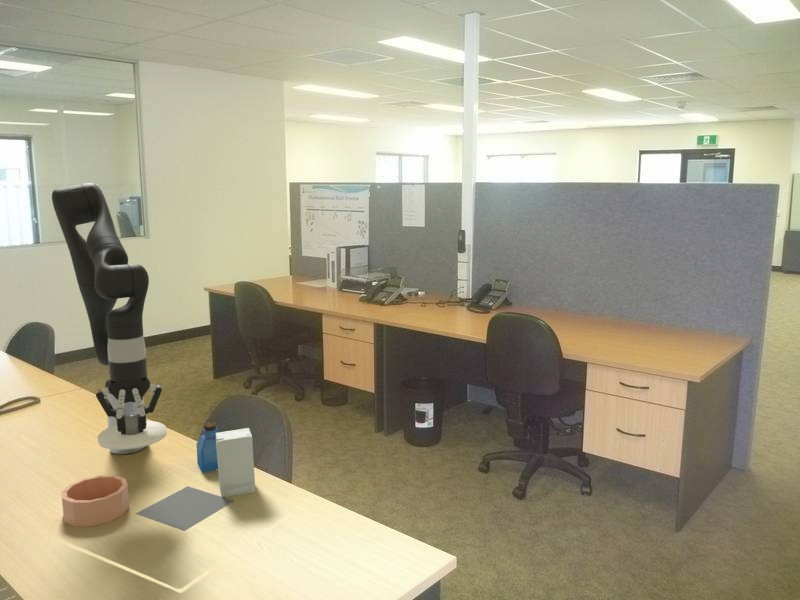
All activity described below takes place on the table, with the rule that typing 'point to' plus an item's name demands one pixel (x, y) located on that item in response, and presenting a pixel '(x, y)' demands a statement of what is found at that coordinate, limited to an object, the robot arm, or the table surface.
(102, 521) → the bowl
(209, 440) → the perfume bottle
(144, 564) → the table surface
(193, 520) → the mat
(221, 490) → the skincare box
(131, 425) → the lid
